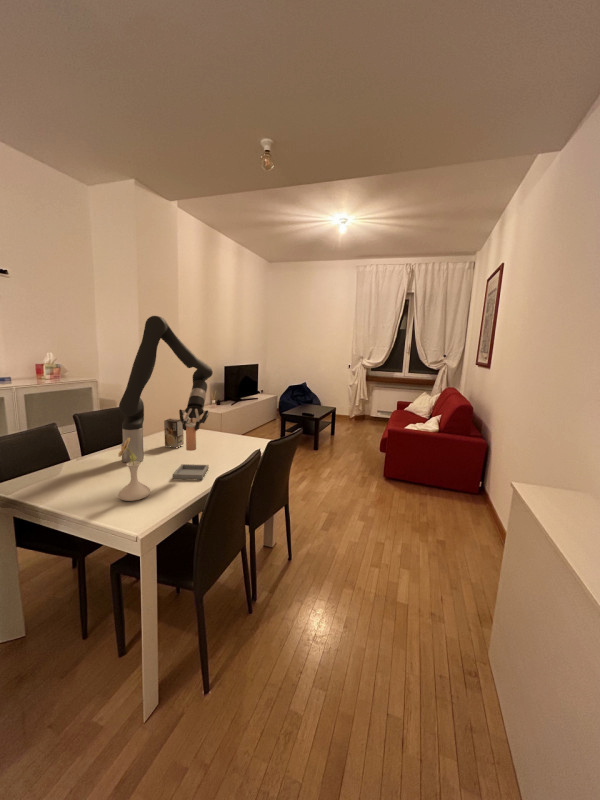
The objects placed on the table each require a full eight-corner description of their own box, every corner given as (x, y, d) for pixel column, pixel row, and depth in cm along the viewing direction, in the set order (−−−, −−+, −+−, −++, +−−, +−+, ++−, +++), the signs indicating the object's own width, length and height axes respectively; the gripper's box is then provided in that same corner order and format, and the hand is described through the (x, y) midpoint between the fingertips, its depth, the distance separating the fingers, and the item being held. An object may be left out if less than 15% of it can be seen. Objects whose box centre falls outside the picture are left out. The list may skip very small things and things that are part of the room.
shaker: (184, 450, 150) (184, 424, 148) (187, 447, 154) (187, 422, 152) (194, 450, 150) (194, 424, 148) (197, 447, 154) (197, 422, 153)
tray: (172, 479, 147) (172, 474, 147) (181, 469, 160) (181, 464, 160) (202, 480, 148) (202, 474, 147) (208, 469, 161) (208, 464, 160)
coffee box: (184, 445, 197) (183, 419, 195) (178, 448, 191) (177, 421, 189) (170, 444, 199) (170, 418, 197) (164, 447, 193) (163, 420, 191)
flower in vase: (126, 490, 134) (123, 431, 130) (154, 491, 135) (153, 432, 131) (110, 505, 121) (107, 440, 118) (142, 506, 122) (139, 441, 118)
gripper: (180, 394, 156) (172, 425, 146) (210, 395, 157) (204, 425, 147) (183, 403, 162) (176, 433, 152) (213, 404, 163) (207, 434, 153)
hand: (190, 429), depth 149 cm, fingers closed on shaker, 4 cm apart
